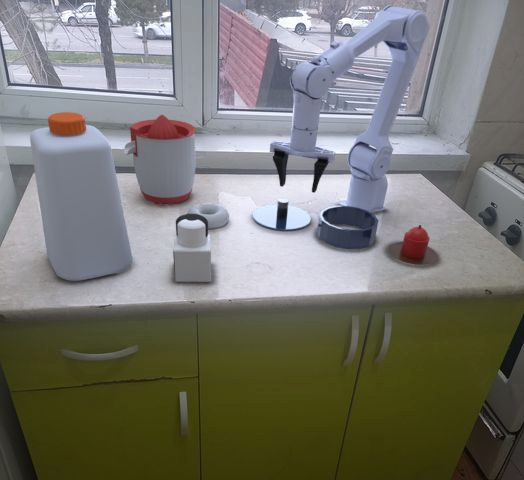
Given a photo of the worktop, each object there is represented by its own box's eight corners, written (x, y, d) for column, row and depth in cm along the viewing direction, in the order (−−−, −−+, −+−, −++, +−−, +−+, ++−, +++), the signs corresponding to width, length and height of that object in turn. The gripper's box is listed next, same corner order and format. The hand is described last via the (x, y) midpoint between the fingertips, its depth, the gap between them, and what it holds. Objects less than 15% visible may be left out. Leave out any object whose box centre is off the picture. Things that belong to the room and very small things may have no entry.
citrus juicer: (124, 188, 135) (114, 107, 122) (188, 183, 141) (185, 104, 128) (135, 213, 124) (126, 126, 111) (204, 206, 130) (203, 122, 117)
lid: (290, 204, 133) (291, 185, 130) (321, 227, 124) (324, 207, 121) (242, 213, 127) (242, 194, 124) (271, 238, 118) (273, 217, 115)
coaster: (412, 239, 122) (413, 237, 121) (447, 260, 115) (447, 258, 114) (377, 248, 117) (378, 246, 117) (411, 270, 110) (411, 268, 110)
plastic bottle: (44, 252, 107) (11, 108, 89) (116, 239, 113) (98, 102, 95) (61, 287, 97) (26, 133, 79) (138, 271, 103) (123, 125, 85)
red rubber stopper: (413, 245, 118) (420, 217, 114) (430, 255, 115) (438, 227, 111) (395, 249, 116) (402, 222, 112) (412, 260, 113) (420, 232, 108)
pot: (350, 221, 128) (353, 202, 125) (385, 244, 119) (390, 224, 116) (305, 231, 122) (308, 211, 119) (340, 256, 113) (343, 235, 110)
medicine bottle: (176, 264, 106) (173, 209, 99) (211, 264, 107) (210, 210, 99) (174, 282, 101) (171, 225, 93) (211, 282, 101) (210, 226, 94)
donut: (181, 229, 119) (223, 234, 118) (180, 215, 117) (222, 220, 116) (194, 211, 127) (233, 216, 126) (194, 198, 125) (233, 203, 123)
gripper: (267, 126, 109) (263, 188, 118) (333, 136, 106) (324, 199, 114) (277, 118, 114) (272, 178, 123) (340, 128, 111) (331, 189, 120)
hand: (298, 188), depth 119 cm, fingers open, 7 cm apart
